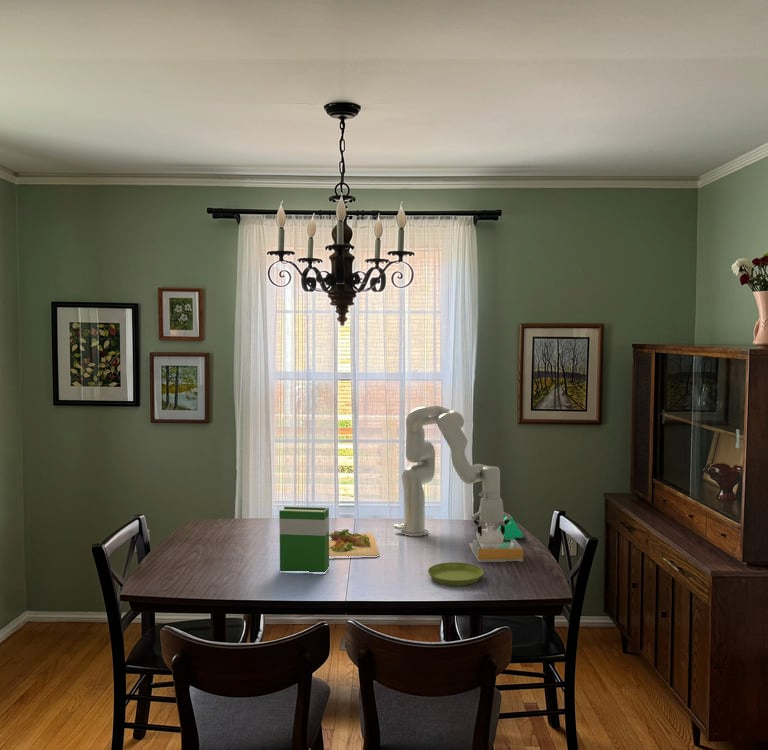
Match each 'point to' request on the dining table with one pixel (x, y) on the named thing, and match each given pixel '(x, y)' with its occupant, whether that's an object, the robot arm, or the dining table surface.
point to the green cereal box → (304, 539)
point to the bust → (490, 535)
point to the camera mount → (511, 530)
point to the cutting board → (352, 544)
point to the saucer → (455, 573)
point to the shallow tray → (497, 551)
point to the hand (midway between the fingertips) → (491, 535)
